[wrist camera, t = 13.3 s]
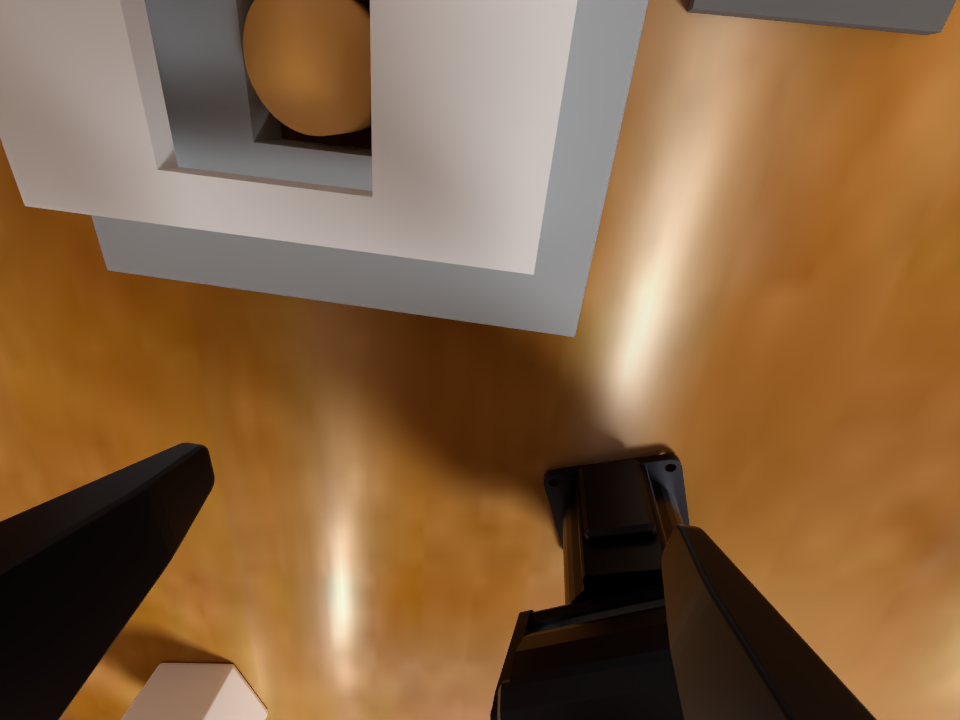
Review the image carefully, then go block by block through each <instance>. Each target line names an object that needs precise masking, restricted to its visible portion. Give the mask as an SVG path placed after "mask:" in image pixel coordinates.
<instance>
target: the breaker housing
mask: <svg viewBox="0 0 960 720" xmlns="http://www.w3.org/2000/svg"><path fill="white" fill-rule="evenodd" d="M253 2H254V0H0V139H1V142H2V144H3V147H4V150H5V153H6V155H7V158H8V161H9V164H10V166H11V169H12V172H13V175H14V177H15V180H16V183H17V186H18V188H19V191H20V194H21V197H22V199H23V202H24V205H25V206H28V207H35V208H43V209H50V210H58V211H65V212H72V213H80V214H87V215H91V217H92V220H93V224H94V227H95V230H96V234H97V237H98V240H99V244H100V247H101V250H102V254H103V257H104V260H105V264H106V267H107V270H108V271H115V272H122V273H129V274H136V275H143V276H150V277H157V278H164V279H171V280H178V281H185V282H192V283H199V284H206V285H213V286H220V287H227V288H234V289H241V290H248V291H255V292H262V293H269V294H276V295H283V296H290V297H297V298H304V299H311V300H318V301H325V302H332V303H339V304H346V305H353V306H360V307H367V308H374V309H381V310H388V311H395V312H402V313H409V314H416V315H423V316H430V317H437V318H444V319H451V320H458V321H465V322H472V323H479V324H486V325H493V326H500V327H507V328H514V329H521V330H528V331H535V332H542V333H549V334H556V335H563V336H570V337H575V334H576V329H577V325H578V320H579V316H580V311H581V306H582V302H583V297H584V293H585V288H586V283H587V279H588V274H589V270H590V265H591V261H592V256H593V251H594V247H595V242H596V238H597V233H598V229H599V224H600V219H601V215H602V210H603V206H604V201H605V196H606V192H607V187H608V183H609V178H610V174H611V169H612V164H613V160H614V155H615V151H616V146H617V142H618V137H619V132H620V128H621V123H622V119H623V114H624V109H625V105H626V100H627V96H628V91H629V87H630V82H631V77H632V73H633V68H634V64H635V59H636V55H637V50H638V45H639V41H640V36H641V32H642V27H643V22H644V18H645V13H646V9H647V4H648V0H370V51H371V125H372V150H371V149H363V148H354V147H346V146H338V145H329V144H321V143H313V142H304V141H296V140H288V139H283V137H282V127H281V122H280V121H279V120H278V119H277V118H276V117H274V116H273V115H272V113H271V112H270V111H269V110H268V109H267V108H266V107H265V105H264V104H263V103H262V101H261V100H260V98H259V97H258V95H257V93H256V91H255V89H254V87H253V86H252V83H251V81H250V78H249V76H248V72H247V69H246V65H245V60H244V53H243V32H244V25H245V21H246V17H247V14H248V12H249V9H250V7H251V5H252V3H253Z"/></svg>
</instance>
